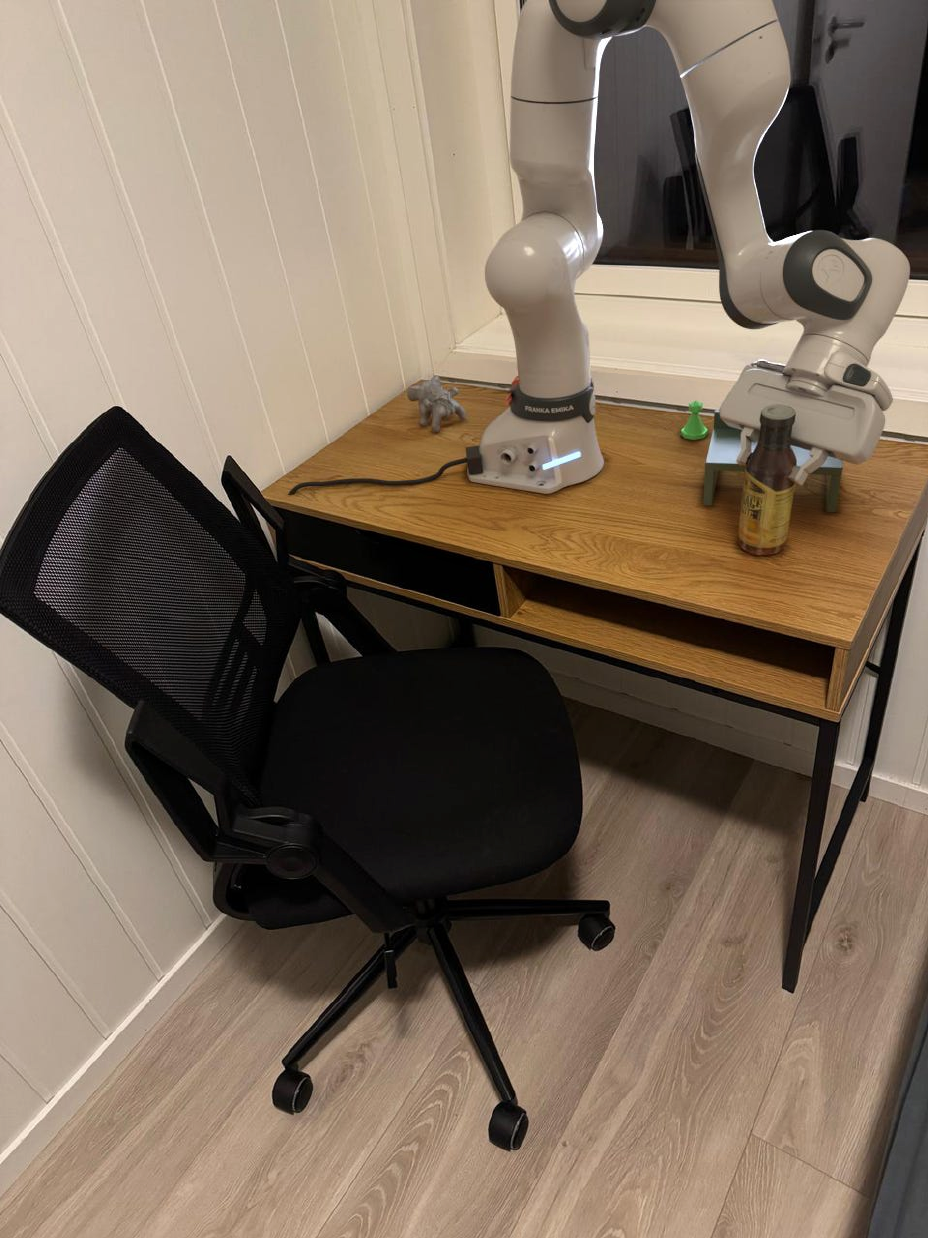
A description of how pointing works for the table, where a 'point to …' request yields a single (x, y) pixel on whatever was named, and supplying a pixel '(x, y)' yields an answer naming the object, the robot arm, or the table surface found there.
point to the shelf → (729, 446)
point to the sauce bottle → (768, 484)
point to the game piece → (694, 423)
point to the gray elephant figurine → (435, 402)
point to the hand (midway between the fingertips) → (768, 473)
